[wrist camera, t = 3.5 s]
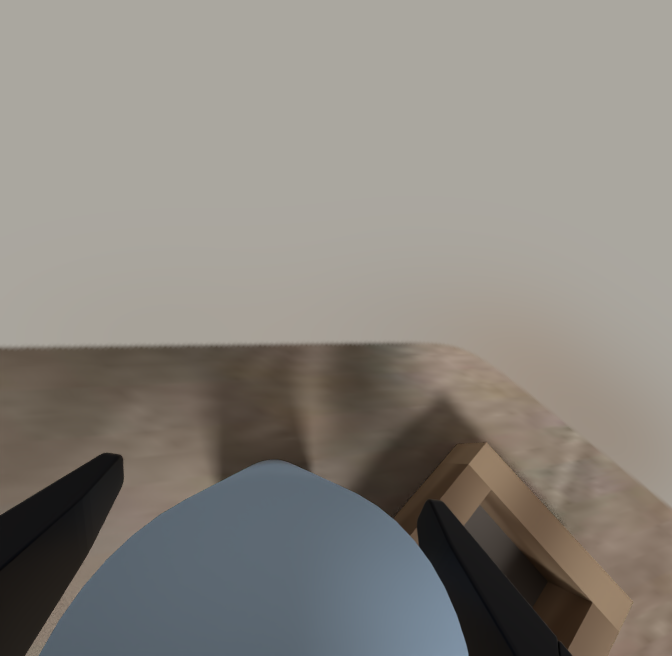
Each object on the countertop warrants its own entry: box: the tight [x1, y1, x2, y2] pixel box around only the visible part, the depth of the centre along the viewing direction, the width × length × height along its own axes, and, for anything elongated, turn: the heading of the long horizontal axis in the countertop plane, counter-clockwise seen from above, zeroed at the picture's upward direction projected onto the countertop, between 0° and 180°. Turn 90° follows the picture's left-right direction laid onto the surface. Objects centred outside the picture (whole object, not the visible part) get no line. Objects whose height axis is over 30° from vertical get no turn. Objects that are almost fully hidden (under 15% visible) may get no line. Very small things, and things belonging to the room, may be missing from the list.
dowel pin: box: [39, 460, 469, 656], centre depth 9 cm, size 4×4×12 cm
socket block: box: [393, 442, 633, 656], centre depth 14 cm, size 8×8×2 cm
